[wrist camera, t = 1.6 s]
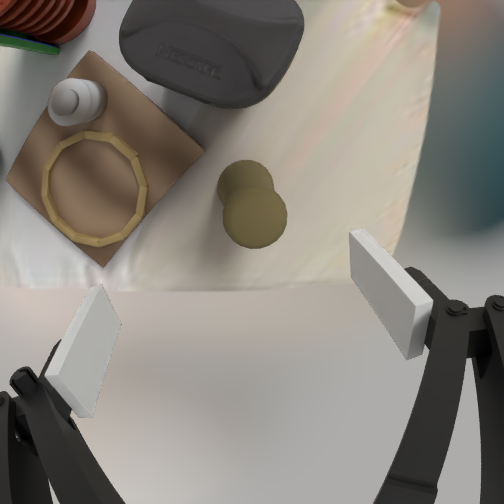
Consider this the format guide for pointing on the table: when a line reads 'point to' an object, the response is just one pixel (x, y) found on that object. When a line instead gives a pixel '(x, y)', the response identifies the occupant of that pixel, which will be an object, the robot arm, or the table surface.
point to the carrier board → (100, 158)
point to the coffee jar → (213, 46)
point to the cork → (251, 205)
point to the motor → (43, 22)
